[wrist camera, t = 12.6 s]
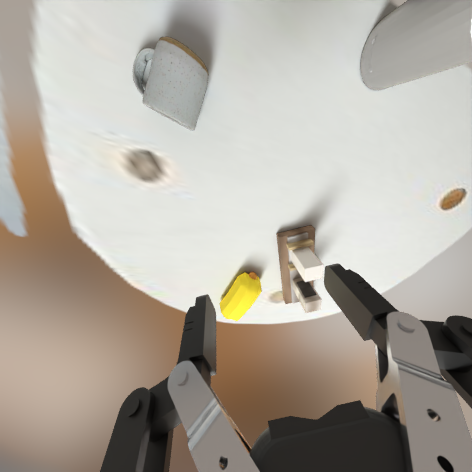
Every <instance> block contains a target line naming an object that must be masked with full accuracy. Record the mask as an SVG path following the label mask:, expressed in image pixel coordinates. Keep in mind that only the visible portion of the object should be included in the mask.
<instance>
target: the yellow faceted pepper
mask: <svg viewBox="0 0 472 472" xmlns="http://www.w3.org/2000/svg"><path fill="white" fill-rule="evenodd" d="M261 292H262V290H261V283H260V280H259V277H257V275H256V274H255V273H254V272H251V273H249V274H247V273H246V272H244V273H242V274H241V275H239V276H238V277H237V278H236V280H235V282H234V283H233V285H232V287H231V288H230V290H229V291H228V293H227V294H226V296H225V297H224V298H223V300H222V301H221V302H220V308H221V313H222V314H223V316H224V317H225V318H226V319H233V320H235V321H238V320H239V319H240V318H241V317H242V316H243V315H244V314H245V313H246V311H247V310H248V309H249V308H250V307H251V306H252V304H253V303H254V302H255V300H256V299H257V297H258V296H259V294H260V293H261Z"/></svg>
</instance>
